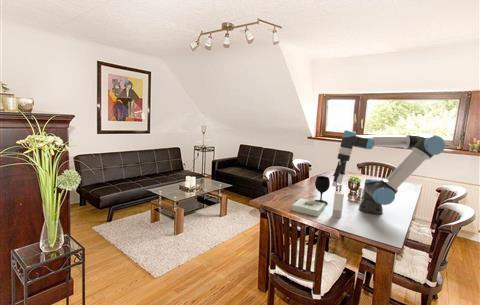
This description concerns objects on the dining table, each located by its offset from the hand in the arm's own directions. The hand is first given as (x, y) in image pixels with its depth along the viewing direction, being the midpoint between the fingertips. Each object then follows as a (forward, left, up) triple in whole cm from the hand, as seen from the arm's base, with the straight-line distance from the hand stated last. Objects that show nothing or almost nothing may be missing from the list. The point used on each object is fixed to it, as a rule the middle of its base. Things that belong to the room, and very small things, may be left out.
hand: (336, 184), depth 174 cm
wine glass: (+13, -16, -20) cm, 29 cm away
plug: (-3, +3, -20) cm, 21 cm away
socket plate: (+16, +3, -20) cm, 26 cm away
